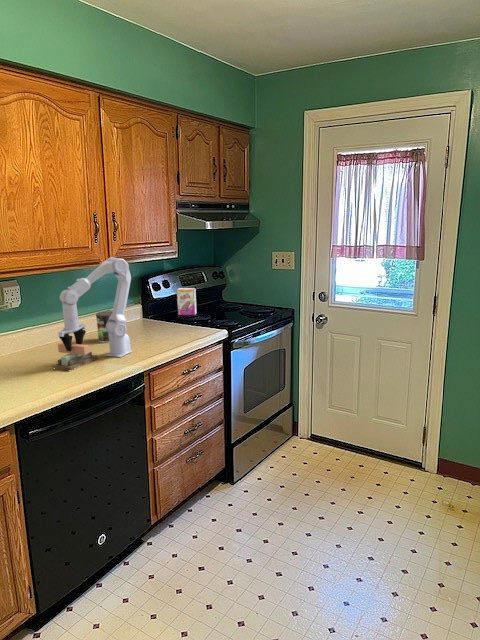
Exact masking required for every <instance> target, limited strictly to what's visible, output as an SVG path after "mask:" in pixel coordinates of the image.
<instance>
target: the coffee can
mask: <svg viewBox="0 0 480 640" xmlns="http://www.w3.org/2000/svg"><path fill="white" fill-rule="evenodd" d="M112 313H113V310H109V311H99V312H97V313H96V314H95V316H96V326H97V327H96V329H97V337H98V342H99V343H103V344H107V343H109V332H108V331H107V330H106V324H107V322H108V321H109V317H110V316H111V315H112Z"/></svg>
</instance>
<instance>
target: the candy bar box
mask: <svg viewBox="0 0 480 640" xmlns="http://www.w3.org/2000/svg"><path fill="white" fill-rule="evenodd" d="M196 291H197V290H196V288H195V287H194V288H193V287H191V288H189V287H188V288H186V287H179V288H177V289H176V301H177V302H176V303H177V306H176V307H177V316H196V315H197V311H198V310H197V294H196V293H197V292H196Z"/></svg>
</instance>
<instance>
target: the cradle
mask: <svg viewBox="0 0 480 640" xmlns="http://www.w3.org/2000/svg"><path fill="white" fill-rule="evenodd" d="M98 358H99V357H98V355H97V354H93V352H92V351H89V353H88V354H86V355H82V356H79V357H77V358H75V359H72V360H70V361H68V364H69V365H62V363H61V358H60V359H57V363H56V364H54V365H52V369H53V368H55V369H54V370H56V369H61V370H60V371H64V370H72V369H74V368H76V369H78V368H80V367H82V366H84V364H85V365H86V363H87V364H88V363H91V362H93V361H95V360H98ZM81 365H82V366H81ZM79 366H80V367H79ZM77 367H78V368H77ZM74 370H75V369H74ZM72 371H73V370H72Z"/></svg>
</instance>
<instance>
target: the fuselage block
mask: <svg viewBox="0 0 480 640" xmlns="http://www.w3.org/2000/svg"><path fill="white" fill-rule="evenodd" d="M79 356H82V355H81V354H71V353H66V354H65V355H62V356H60V359H61V363H62V365H69V364H68V361H70V360H72V359H75V358H77V357H79Z"/></svg>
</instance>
